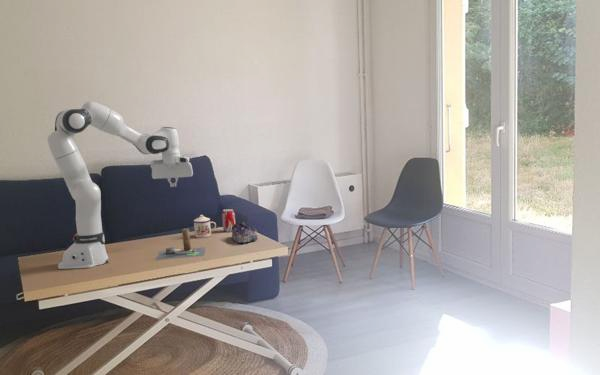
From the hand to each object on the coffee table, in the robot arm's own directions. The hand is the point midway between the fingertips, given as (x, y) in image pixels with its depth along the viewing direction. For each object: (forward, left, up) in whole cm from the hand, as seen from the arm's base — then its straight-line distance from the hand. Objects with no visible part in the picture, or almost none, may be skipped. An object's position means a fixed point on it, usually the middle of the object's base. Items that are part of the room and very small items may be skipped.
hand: (173, 186), depth 292 cm
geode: (+32, +1, -31) cm, 45 cm away
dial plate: (+3, -23, -31) cm, 38 cm away
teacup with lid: (+13, +19, -31) cm, 38 cm away
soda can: (+26, +26, -31) cm, 48 cm away
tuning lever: (+3, -23, -29) cm, 37 cm away
